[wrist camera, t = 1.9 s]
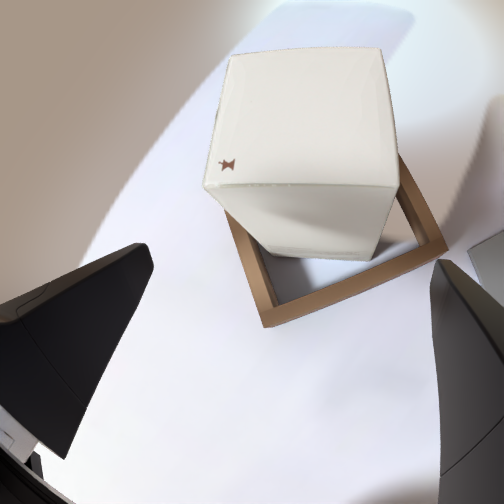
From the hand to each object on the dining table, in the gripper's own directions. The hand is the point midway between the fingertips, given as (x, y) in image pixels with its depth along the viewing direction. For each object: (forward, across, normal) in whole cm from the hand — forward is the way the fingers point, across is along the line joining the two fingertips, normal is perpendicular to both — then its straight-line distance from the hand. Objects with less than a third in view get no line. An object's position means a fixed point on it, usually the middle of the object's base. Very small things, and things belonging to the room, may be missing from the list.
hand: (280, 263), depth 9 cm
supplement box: (+14, 0, +5) cm, 15 cm away
